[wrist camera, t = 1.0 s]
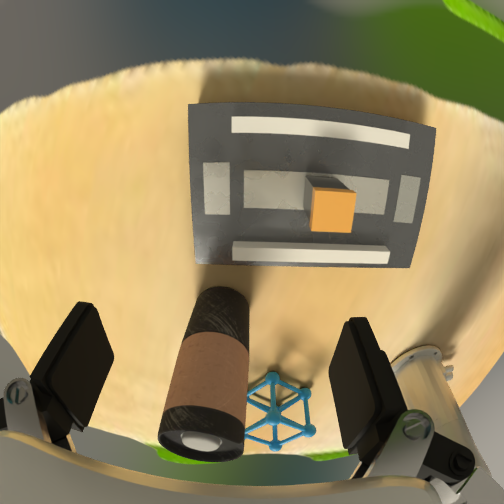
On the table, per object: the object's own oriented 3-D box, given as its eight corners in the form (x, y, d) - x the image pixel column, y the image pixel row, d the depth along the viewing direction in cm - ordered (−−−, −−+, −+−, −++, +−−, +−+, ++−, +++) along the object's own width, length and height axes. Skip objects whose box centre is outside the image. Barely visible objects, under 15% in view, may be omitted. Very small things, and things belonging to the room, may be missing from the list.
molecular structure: (313, 387, 45) (319, 435, 37) (274, 410, 49) (275, 454, 40) (271, 366, 43) (273, 419, 34) (233, 392, 46) (229, 439, 37)
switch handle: (338, 177, 25) (356, 193, 20) (334, 209, 26) (350, 232, 21) (304, 175, 25) (315, 190, 20) (301, 208, 26) (311, 231, 21)
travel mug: (183, 308, 37) (142, 440, 20) (217, 273, 35) (184, 420, 17) (226, 337, 40) (210, 467, 22) (263, 307, 37) (264, 450, 19)
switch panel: (417, 124, 25) (443, 129, 21) (396, 252, 33) (414, 274, 28) (197, 105, 26) (184, 103, 21) (202, 246, 33) (193, 270, 28)
